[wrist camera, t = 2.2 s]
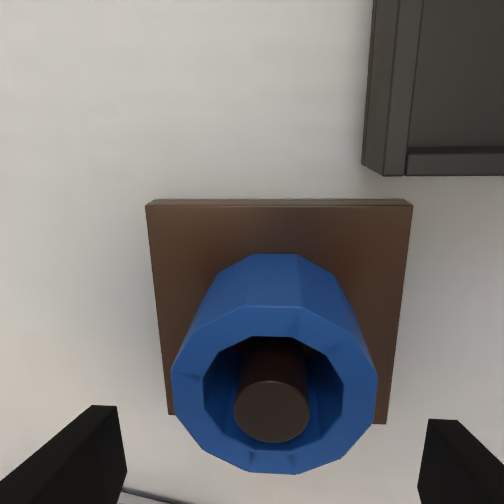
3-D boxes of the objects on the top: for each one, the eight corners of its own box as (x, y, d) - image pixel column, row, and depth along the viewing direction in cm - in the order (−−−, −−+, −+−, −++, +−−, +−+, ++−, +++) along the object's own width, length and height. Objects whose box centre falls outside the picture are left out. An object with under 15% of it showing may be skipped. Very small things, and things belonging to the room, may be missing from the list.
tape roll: (356, 253, 13) (386, 308, 9) (346, 388, 15) (367, 479, 11) (195, 252, 13) (162, 303, 10) (205, 383, 15) (180, 469, 12)
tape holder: (404, 198, 13) (484, 251, 8) (380, 407, 16) (427, 546, 11) (153, 199, 14) (74, 248, 9) (174, 398, 17) (124, 525, 12)
